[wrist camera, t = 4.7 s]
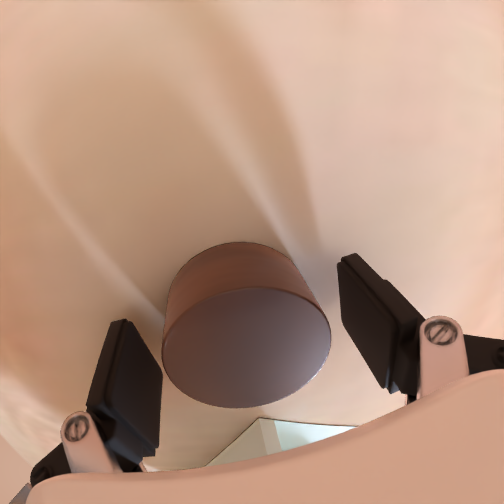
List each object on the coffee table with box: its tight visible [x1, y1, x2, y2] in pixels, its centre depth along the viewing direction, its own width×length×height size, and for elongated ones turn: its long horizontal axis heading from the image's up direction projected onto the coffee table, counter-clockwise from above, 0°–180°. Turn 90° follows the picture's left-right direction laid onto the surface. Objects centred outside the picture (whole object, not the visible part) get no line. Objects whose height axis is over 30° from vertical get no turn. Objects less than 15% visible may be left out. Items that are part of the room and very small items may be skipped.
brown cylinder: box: [162, 242, 331, 408], centre depth 10 cm, size 5×5×3 cm
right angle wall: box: [205, 418, 355, 467], centre depth 16 cm, size 12×12×8 cm
